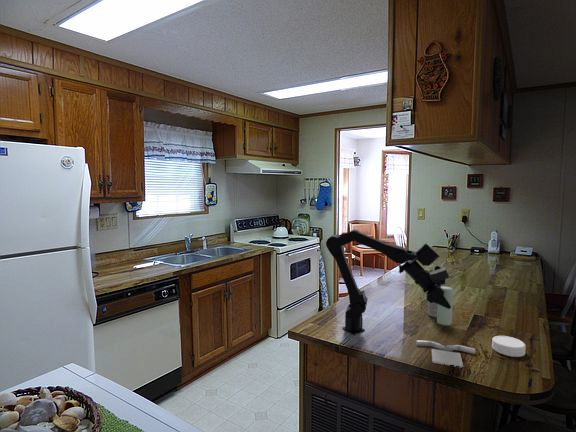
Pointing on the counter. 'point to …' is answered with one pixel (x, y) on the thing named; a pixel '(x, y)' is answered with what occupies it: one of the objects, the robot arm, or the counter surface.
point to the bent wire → (445, 348)
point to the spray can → (433, 306)
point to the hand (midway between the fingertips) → (449, 305)
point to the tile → (446, 358)
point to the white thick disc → (508, 346)
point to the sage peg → (444, 313)
